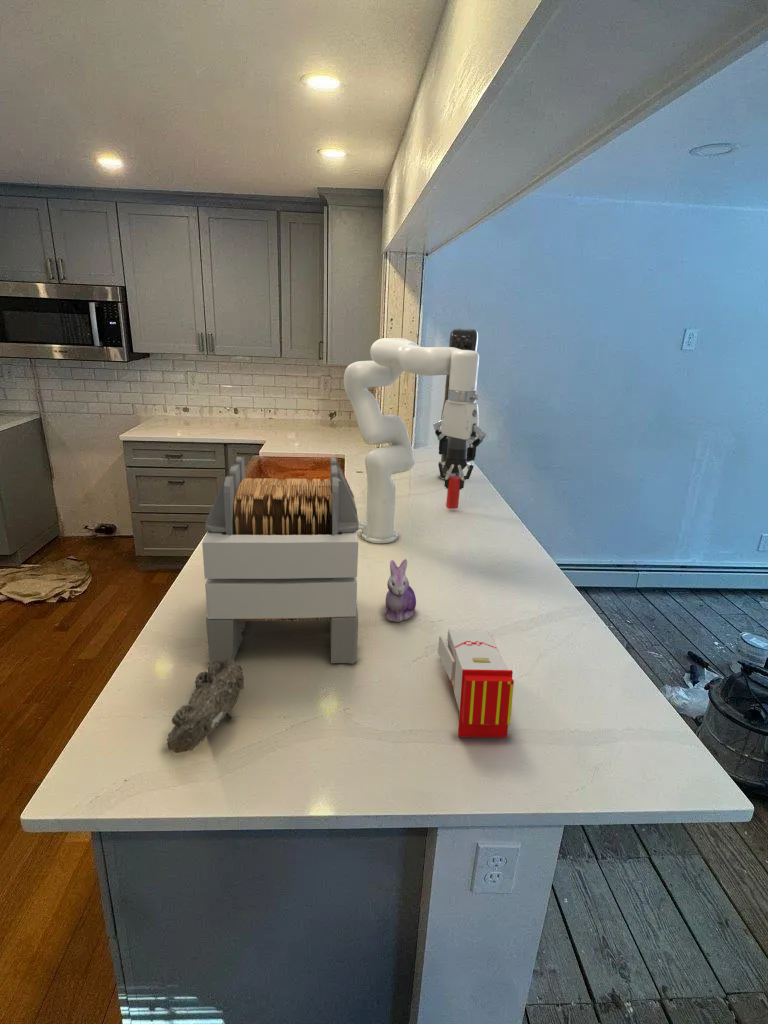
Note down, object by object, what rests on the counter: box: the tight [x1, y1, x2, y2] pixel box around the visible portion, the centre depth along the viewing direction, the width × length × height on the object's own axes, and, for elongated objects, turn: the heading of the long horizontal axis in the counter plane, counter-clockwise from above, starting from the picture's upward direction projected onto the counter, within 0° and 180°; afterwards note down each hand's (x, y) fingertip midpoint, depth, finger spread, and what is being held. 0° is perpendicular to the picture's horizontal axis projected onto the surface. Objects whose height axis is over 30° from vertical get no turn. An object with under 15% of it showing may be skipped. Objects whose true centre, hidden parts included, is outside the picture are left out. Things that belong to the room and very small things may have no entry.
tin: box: [445, 475, 461, 510], centre depth 223 cm, size 5×5×12 cm
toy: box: [437, 628, 515, 738], centre depth 117 cm, size 12×13×30 cm
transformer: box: [201, 455, 360, 666], centre depth 133 cm, size 34×33×41 cm
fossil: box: [166, 659, 245, 754], centre depth 106 cm, size 22×10×15 cm
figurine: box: [384, 558, 417, 623], centre depth 145 cm, size 9×10×15 cm
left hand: (456, 457), depth 162 cm, fingers open, 9 cm apart
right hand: (453, 488), depth 223 cm, fingers closed on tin, 4 cm apart
